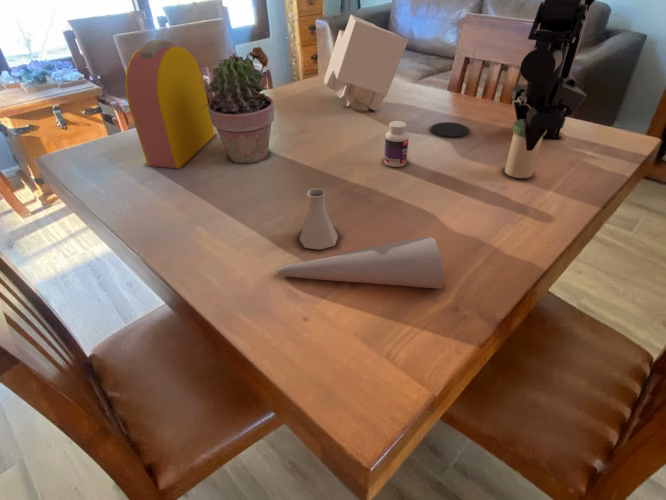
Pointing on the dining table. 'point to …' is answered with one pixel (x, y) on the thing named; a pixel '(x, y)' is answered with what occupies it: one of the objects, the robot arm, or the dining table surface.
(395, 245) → the grey long cone
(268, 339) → the dining table surface
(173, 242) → the dining table surface
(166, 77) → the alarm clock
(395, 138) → the pill bottle
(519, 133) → the lid
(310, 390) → the dining table surface
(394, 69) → the beige tilted block
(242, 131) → the potted plant
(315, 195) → the flask
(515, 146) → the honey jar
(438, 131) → the coaster
